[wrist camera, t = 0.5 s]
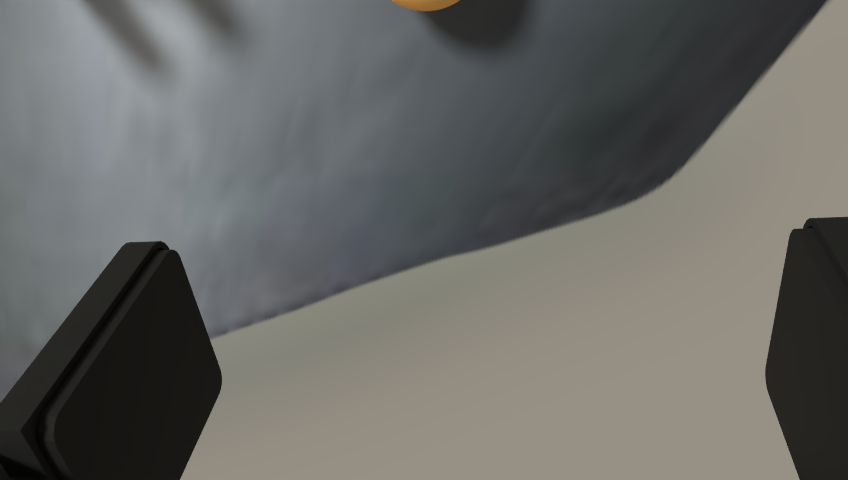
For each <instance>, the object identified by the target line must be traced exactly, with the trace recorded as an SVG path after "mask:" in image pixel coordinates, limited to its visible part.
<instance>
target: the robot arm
mask: <svg viewBox="0 0 848 480" xmlns="http://www.w3.org/2000/svg"><path fill="white" fill-rule="evenodd" d="M765 374H766V375H765V376H766V385H767V390H768V393H769V396H770V399H771V402H772V404H773V407H774V410H775V413H776V415H777V418H778V421H779V424H780V426H781V429H782V432H783V435H784V437H785V440H786V443H787V446H788V448H789V451H790V454H791V456H792V459H793V462H794V465H795V468H796V470H797V473H798V476H799V479H800V480H848V217H832V218H809V219H808V220H807V221H806V223H805V224H804V227H803V229H793V230H792V232H791V234H790V237H789V242H788V247H787V253H786V259H785V264H784V269H783V275H782V281H781V286H780V291H779V297H778V303H777V308H776V313H775V319H774V324H773V330H772V335H771V341H770V346H769V352H768V358H767V363H766V373H765ZM221 385H222V375H221V370H220V367H219V365H218V361H217V359H216V356H215V353H214V351H213V347H212V345H211V342H210V339H209V336H208V334H207V331H206V328H205V325H204V322H203V320H202V317H201V314H200V311H199V308H198V306H197V303H196V300H195V297H194V295H193V292H192V289H191V286H190V283H189V281H188V278H187V275H186V272H185V269H184V267H183V264H182V261H181V258H180V256H179V254H178V253H177V252H176V251H175V250H170V249H169V247H168V246H167V245H166V244H165V243H164V242H161V241H156V242H130V243H126V244H125V245H123V246H122V247H121V249H120V250H119V251H118V253H117V254H116V255H115V256H114V258H113V259H112V260H111V262H110V263H109V264H108V265H107V267H106V268H105V269H104V271H103V272H102V273H101V274H100V276H99V277H98V278H97V280H96V281H95V282H94V283H93V285H92V286H91V287H90V289H89V290H88V291H87V292H86V294H85V295H84V296H83V298H82V299H81V300H80V301H79V303H78V304H77V305H76V307H75V308H74V309H73V311H72V312H71V313H70V314H69V316H68V317H67V318H66V320H65V321H64V322H63V323H62V325H61V326H60V327H59V329H58V330H57V331H56V332H55V334H54V335H53V336H52V338H51V339H50V340H49V341H48V343H47V344H46V345H45V347H44V348H43V349H42V350H41V352H40V353H39V354H38V356H37V357H36V358H35V359H34V361H33V362H32V363H31V365H30V366H29V367H28V368H27V370H26V371H25V372H24V374H23V375H22V376H21V378H20V379H19V380H18V381H17V383H16V384H15V385H14V387H13V388H12V389H11V390H10V392H9V393H8V394H7V396H6V397H5V398H4V399H3V401H2V402H1V403H0V480H180V478H181V476H182V474H183V472H184V469H185V467H186V465H187V462H188V461H189V458H190V456H191V454H192V452H193V450H194V448H195V445H196V443H197V441H198V439H199V437H200V435H201V432H202V430H203V428H204V426H205V424H206V422H207V419H208V417H209V415H210V413H211V411H212V408H213V406H214V404H215V402H216V400H217V398H218V395H219V393H220V390H221Z"/></svg>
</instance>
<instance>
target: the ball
mask: <svg viewBox="0 0 848 480" xmlns="http://www.w3.org/2000/svg"><path fill="white" fill-rule="evenodd" d="M391 1H392V2H394V3H396V4H398V5H400V6H402V7H405V8H407V9H411V10H416V11H435V10H440V9H443V8H446V7H449V6H451V5H453V4H455V3H457V2H458V1H460V0H391Z"/></svg>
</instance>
